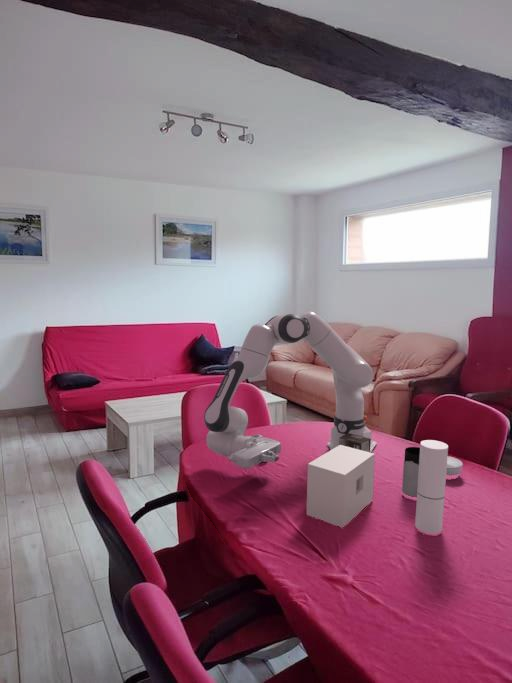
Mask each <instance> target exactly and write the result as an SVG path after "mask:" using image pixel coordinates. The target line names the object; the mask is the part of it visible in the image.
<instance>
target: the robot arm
mask: <svg viewBox="0 0 512 683" xmlns="http://www.w3.org/2000/svg"><path fill="white" fill-rule="evenodd" d="M301 340H303V341H304V342H306V344H307V345H308V346H309V347H310V348H311V349H312V350H313V351H314V352H315V353H316V354H317V356H318V357H319V358H320V359H321V360H322V361H324V362H325V364H327V365H328V366H329V367H330V369H331V372H332V377H333V383H334V384H333V385H334V390H335V415H334V418H333V426H332V427H331V429H330V436H329V437H330V438H329V441H328V442H327V443H326V445H327V447H328V448H329V449H330V450H332V449H334V448H335V447H337V446H339V437H342V436H343V435H345V434H347V433H350V434H354V435H358V436H362V437H366V438H369V439H371V442H370V453H371V451H372V450H373V448H374V447H375V445H376V444H377V445H378V442H376V441H375V440H373V439H372V431H371V430H370V429H369V428H368V427H367V426H366V422H367V421H368V416H367V415H364V407H365V399H364V395H363V393H362V392H363V391H362V389H363V388H366V387H368V386H369V385H370V384H371V383H372V382H373V379H374V375H375V374H374V370H373V368H372V367H371V366H370V364H369V363H368V362H367V361H366V360H365V359H364V358H363V357H362V356H361V355H359V353H357V351H355V349H353V348H352V347H351V346H350V345H348V343H346V342H345V341H344V340H343V338H341V337H340V335H339V334H338V333H337V332H336V331H335V330H334V329H333V327H331V325H330V324H329V323H327V321H326V320H324V319H323V318H322V317H321V316H319V314H317V313H316V312H314V311H305V312H303V313H302V314H301V315H298V314H294V313H288V314H287V313H284V314H279V315H275V316H273V317H272V318H270V319H269V320H268V321H267V322H266V323H265V324H264V323H257V324H253V325H252V326H251V327H250V329H249V331H248V332H247V335H246V336H245V337H244V341H243V343H242V346H241V349H240V351H239V353H238V356H237V357H236V359H235V360H234V362H233V361H232V363H231V364H230V365H229V366H228V368H227V370H226V372H225V373H224V376H223V377H222V380H221V382H220V385H219V386H218V388H217V391H216V393H215V395H214V397H213V399H212V400H211V402H210V403H209V404H208V406H207V407H206V409H205V411H204V415H203V419H204V420H203V421H204V425H205V427H206V428H207V429H208V430H209V431H208V433H207V434H206V438H205V440H206V446H207V447H208V449H210V451H212V452H213V453H215V454H217V455H220V456H221V457H225V458H226V457H227V459H228V461H230V462H232V464H233V465H234V466H237V467H240V468H242V469H246V470H247V469H251V468H252V467H255V466H256V465H259V464H260V463H261V462H262V461H263V462H267V463H269V462H270V463H276V462H277V461H279V460H280V455H279V454H280V453H281V452H282V451H281V450H282V443H281V442H280V441H278V440H275V439H272V438H268V437H263V435H261V434H255V435H245V434H246V431H247V428H248V425H249V416H248V413H247V411H246V410H245V409H243V408H240V407H236V406H231V402H232V401H233V397H234V396H235V393H236V391H237V389H238V387H239V386H240V385H241V383H242V382H244V381H245V380H247V379H251V378H255V377H258V376H260V375H261V374H263V373H264V371H265V369H266V368H267V366H268V363H269V360H270V358H271V354H272V351H273V349H274V347H275V346H276V345H277V344H282V345H283V344H286V345H287V344H294V343H297V342H299V341H301ZM375 448H376V447H375ZM330 450H329V451H330ZM373 451H374V450H373ZM373 451H372V452H373ZM261 464H262V463H261Z"/></svg>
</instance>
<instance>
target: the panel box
mask: <svg viewBox="0 0 512 683" xmlns="http://www.w3.org/2000/svg"><path fill="white" fill-rule="evenodd" d="M375 456H376V455H375V453H373V452H372V453H370V452H366V451H362V450H359V449H355V448H351V447H347V446H343V445H339V446H337V447H335V448H334V449H332V450H328V451H327V452H325V453H324V454H322V455H320V456H319V457H317V458H316V459H315V458H314V459H313V460H312V461H310V462H309V463H307V480H306V481H307V485H306V486H307V488H306V491H307V492H306V514H307V515H306V516H308V515H310V516H312V517H311V518H313V517H315V518H314V519H316V518H318V519H321V520H324V521H326V522H329V523H331V524H330V525H332V524H334V525H337V526H340V527H344V526H345V525H346V524H347V523H348V522H350V521H351V520H352V519H353V518H354V517H355V516H356V515H357V514H358V513H359V512H360V511H361V510H362V509H363V508H364V507H365V506H366V505H367V504H369V503H370V502H371V501H372V502H373V496H374V493H373V492H374V479H375V478H374V475H375V474H374V473H375ZM358 478H359V488H358V489H357V490H356V481H357V479H358ZM310 516H309V517H310ZM356 517H357V516H356ZM356 517H355V518H356ZM355 518H354V519H355ZM318 519H317V520H318ZM354 519H353V520H354ZM321 520H320V521H321ZM353 520H352V521H353ZM324 521H323V522H324ZM352 521H351V522H352ZM326 522H325V523H326ZM351 522H350V523H351ZM329 523H328V524H329ZM334 525H333V526H334ZM337 526H336V527H337ZM345 527H346V526H345ZM345 527H344V528H345Z"/></svg>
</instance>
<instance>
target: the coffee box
mask: <svg viewBox="0 0 512 683" xmlns="http://www.w3.org/2000/svg"><path fill="white" fill-rule="evenodd" d="M371 440H372V438H371V439H369V438H366V437H362V436H358V435H354V434H350V433H347V434H345V435H343V436H342V437H339V445H343V446H347V447H351V448H355V449H359V450H362V451H366V452H370V442H371Z"/></svg>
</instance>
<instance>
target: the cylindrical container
mask: <svg viewBox="0 0 512 683" xmlns="http://www.w3.org/2000/svg"><path fill="white" fill-rule="evenodd" d="M419 448H420V457H419V473H418V489H417V501H416V508H415V521H414V522H415V523H414V527H415V526H416V527H417V528H418V529H419V530H420V531H423V532H425V533H430V534H436V533H439V532H441V531H442V532H443V524H444V523H443V521H444V509H445V507H444V506H445V495H446V485H447V484H446V483H447V480H446V470H447V456H448V455H449V454H448V453H449V445H448V444H447V443H445V442H443V441H439V440H435V439H426V440H425V439H424V440H421V441H420V444H419Z"/></svg>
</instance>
